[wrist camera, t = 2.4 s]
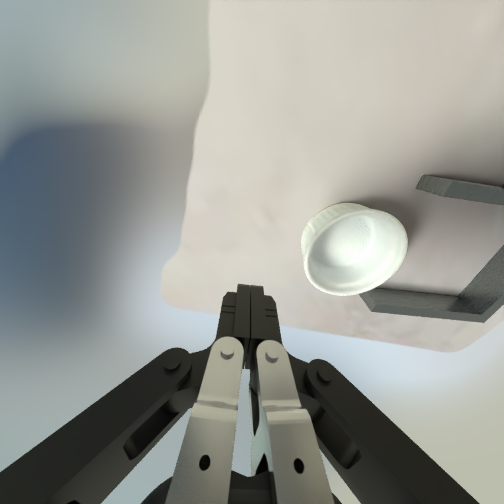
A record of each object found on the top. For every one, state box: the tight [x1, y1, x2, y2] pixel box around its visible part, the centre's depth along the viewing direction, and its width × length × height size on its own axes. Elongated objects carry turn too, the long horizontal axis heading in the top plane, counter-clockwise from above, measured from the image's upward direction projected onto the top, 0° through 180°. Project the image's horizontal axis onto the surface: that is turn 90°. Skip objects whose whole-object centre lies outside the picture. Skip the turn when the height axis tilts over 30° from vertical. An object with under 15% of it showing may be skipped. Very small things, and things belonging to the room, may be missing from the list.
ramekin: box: [301, 203, 408, 296], centre depth 19 cm, size 9×9×4 cm
